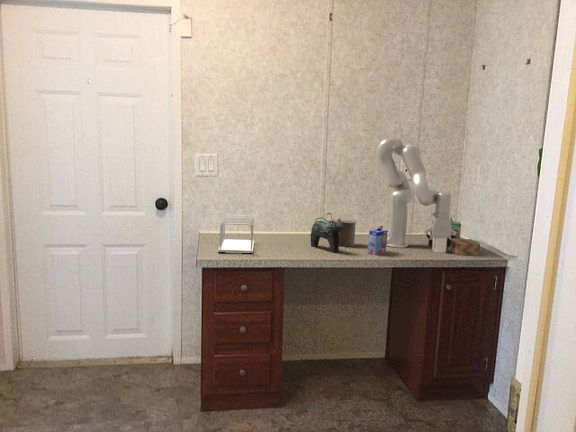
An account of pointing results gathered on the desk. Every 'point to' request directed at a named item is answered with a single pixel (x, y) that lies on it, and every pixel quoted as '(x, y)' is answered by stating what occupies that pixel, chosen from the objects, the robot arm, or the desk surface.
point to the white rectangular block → (439, 244)
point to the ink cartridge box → (377, 241)
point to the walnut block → (464, 247)
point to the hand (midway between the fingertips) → (439, 246)
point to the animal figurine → (327, 233)
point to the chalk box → (456, 228)
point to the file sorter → (236, 245)
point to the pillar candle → (347, 233)
